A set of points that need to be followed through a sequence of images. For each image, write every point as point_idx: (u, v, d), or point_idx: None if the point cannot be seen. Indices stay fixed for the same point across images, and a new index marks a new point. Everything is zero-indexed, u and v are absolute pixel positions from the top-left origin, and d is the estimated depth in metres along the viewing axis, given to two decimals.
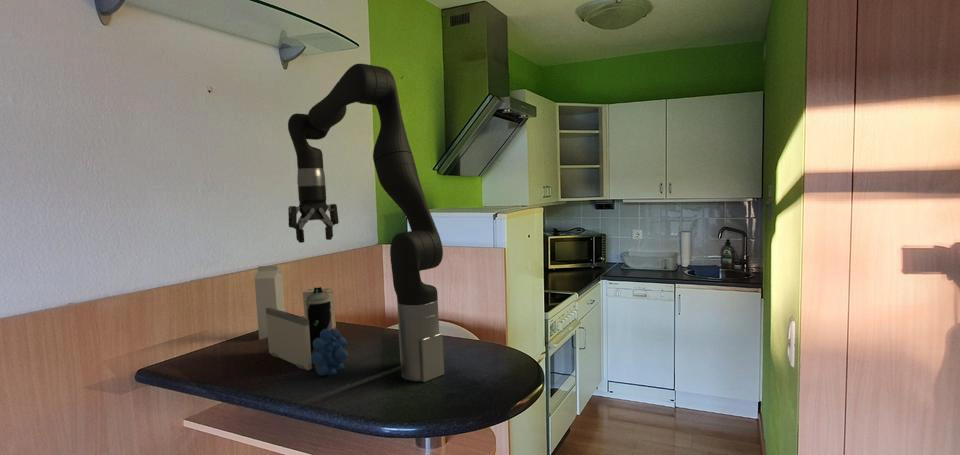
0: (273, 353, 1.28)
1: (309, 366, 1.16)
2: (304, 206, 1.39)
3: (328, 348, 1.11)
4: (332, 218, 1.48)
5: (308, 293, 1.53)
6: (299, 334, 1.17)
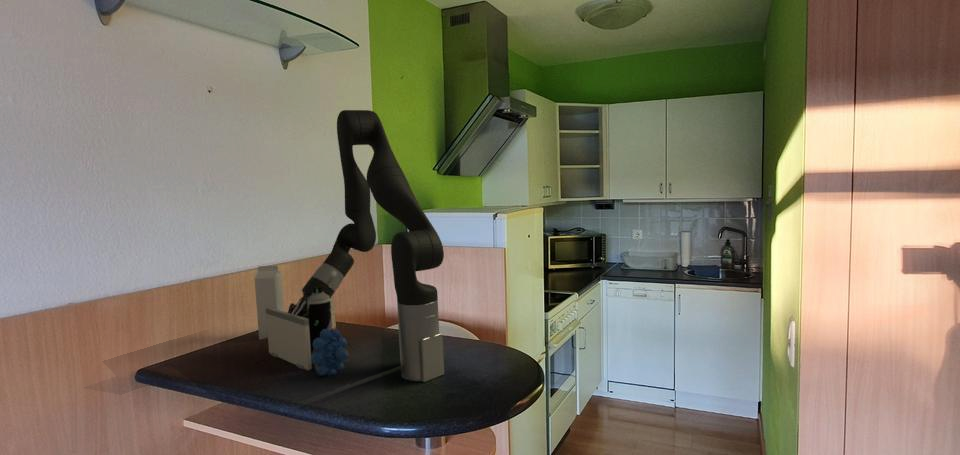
0: (273, 353, 1.28)
1: (309, 366, 1.16)
2: (300, 299, 1.34)
3: (328, 348, 1.11)
4: None
5: None
6: (299, 334, 1.17)
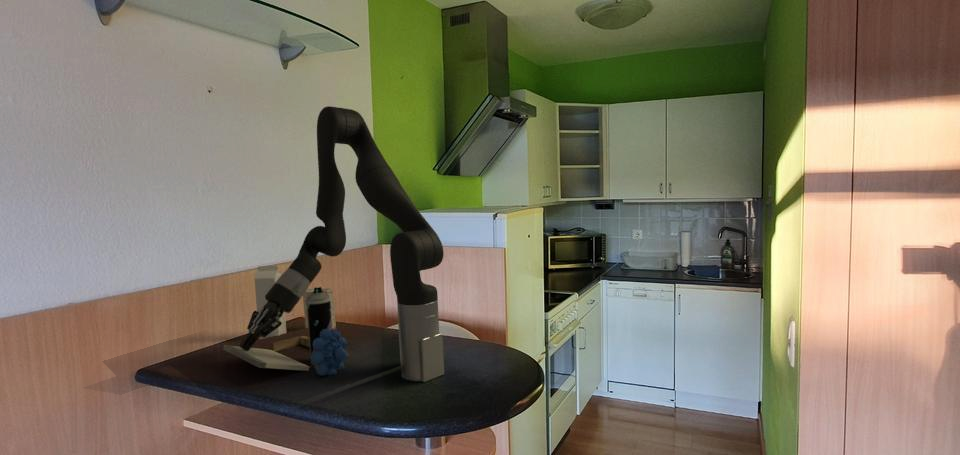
0: None
1: (306, 368, 1.16)
2: (263, 306, 1.27)
3: (328, 348, 1.11)
4: (267, 331, 1.21)
5: (308, 293, 1.53)
6: None
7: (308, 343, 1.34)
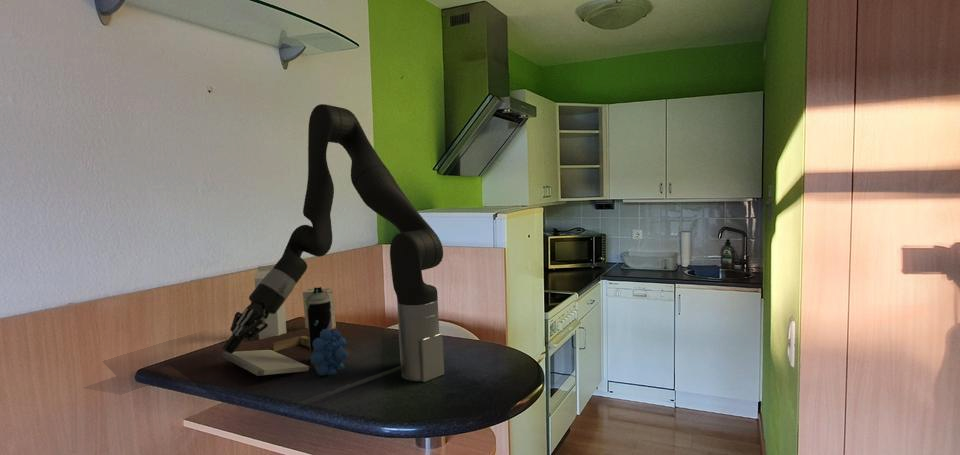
0: None
1: (305, 369, 1.16)
2: None
3: (328, 348, 1.11)
4: (252, 333, 1.18)
5: (308, 293, 1.53)
6: None
7: (308, 343, 1.34)
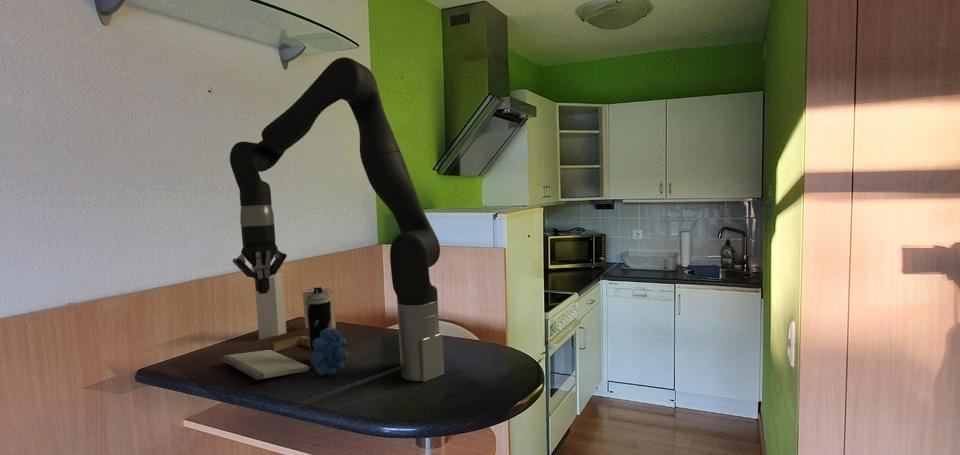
0: None
1: (305, 369, 1.16)
2: (246, 251, 1.19)
3: (328, 348, 1.11)
4: (272, 267, 1.26)
5: (308, 293, 1.53)
6: None
7: (308, 343, 1.34)
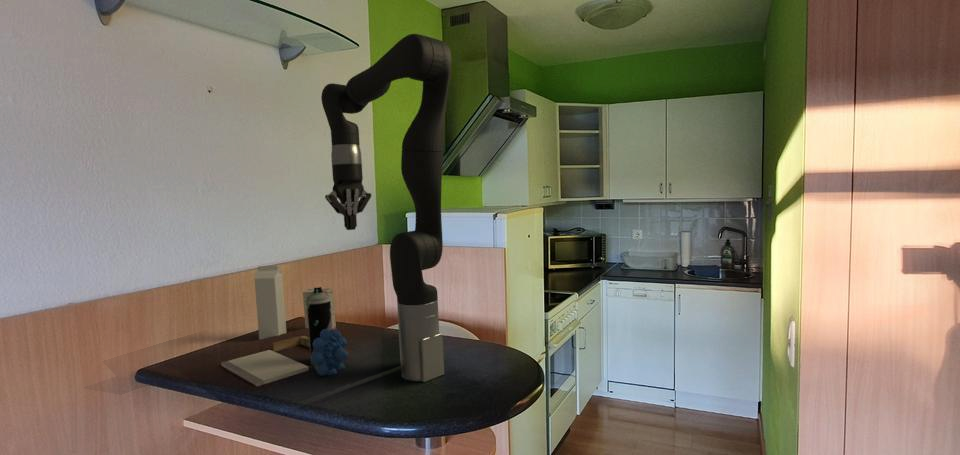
0: None
1: (305, 370, 1.16)
2: (338, 187, 1.26)
3: (328, 348, 1.11)
4: (358, 206, 1.32)
5: (308, 293, 1.53)
6: None
7: (308, 343, 1.34)
